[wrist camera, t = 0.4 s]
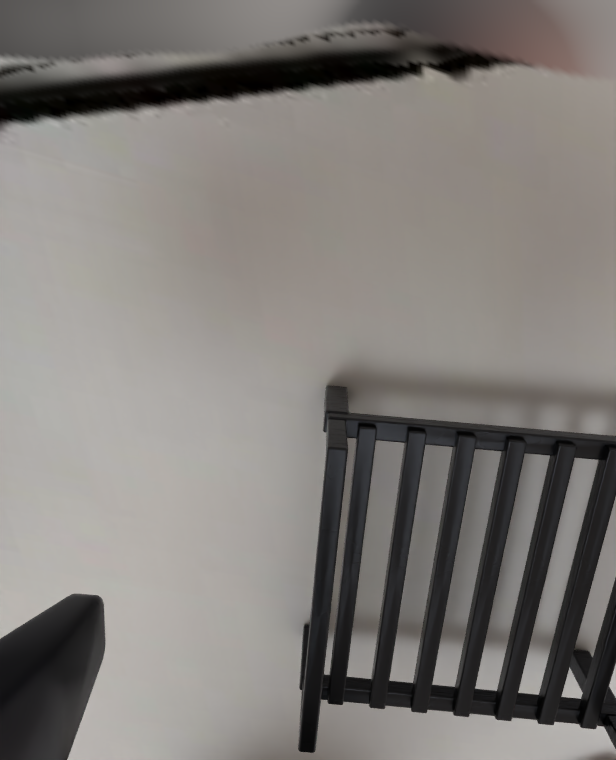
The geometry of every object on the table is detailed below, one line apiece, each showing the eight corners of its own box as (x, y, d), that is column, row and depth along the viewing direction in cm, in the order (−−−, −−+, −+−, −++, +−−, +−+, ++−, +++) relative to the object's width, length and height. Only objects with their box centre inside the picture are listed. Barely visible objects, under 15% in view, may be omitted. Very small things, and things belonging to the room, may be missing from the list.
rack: (584, 664, 25) (652, 788, 20) (302, 638, 25) (295, 754, 20) (656, 413, 21) (761, 482, 16) (325, 384, 22) (324, 444, 16)
